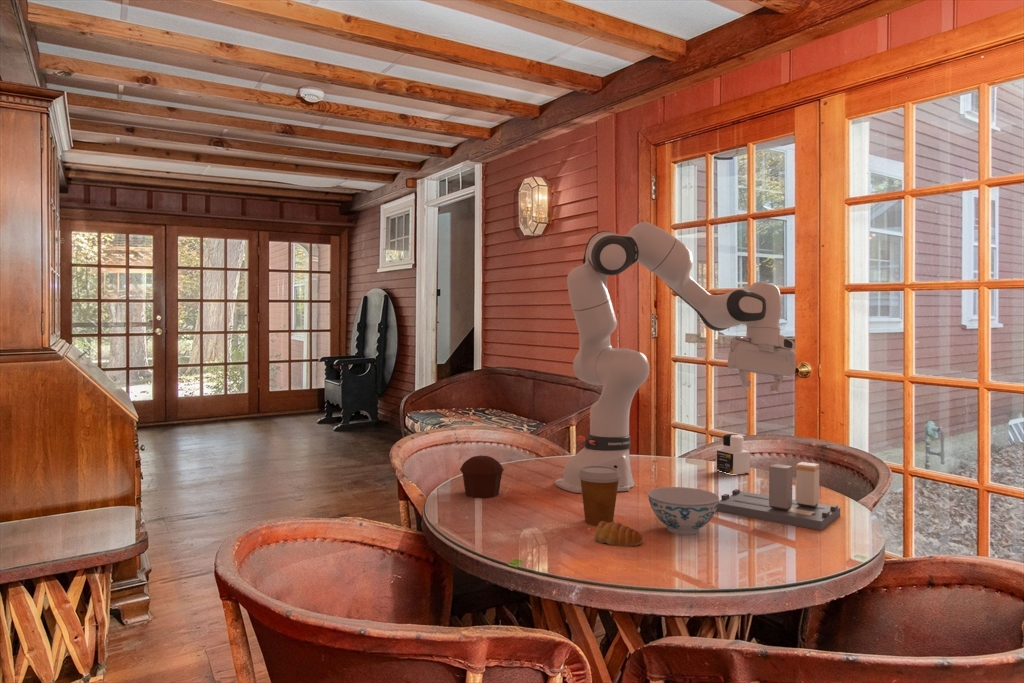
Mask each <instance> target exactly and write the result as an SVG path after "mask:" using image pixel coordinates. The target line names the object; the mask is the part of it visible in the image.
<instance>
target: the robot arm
mask: <svg viewBox="0 0 1024 683" xmlns="http://www.w3.org/2000/svg"><path fill="white" fill-rule="evenodd" d="M693 260H694V259H693V253H692V251H691V250H690V248H688V247H687V245H685V244H684V243H683V242H682V241H681V240H679V239H678V238H676V237H675V236H674V235H672V234H670V233H669V232H667V231H666V230H665V229H663V228H661V227H660V226H659V227H658V226H657V225H654V224H653V223H651V222H648V221H641V222H639V223H637V224H635V225H633V226H632V227H631V228H630V230H628V233H626V234H623V235H622V234H618V233H615V232H613V231H610V230H601V231H598V232H596V233H594V234H593V235H592V236H591V237H590V238H589V239H588V242H587V244H586V246H585V249H584V254H583V259H582V264H580V265H578V266H576V267H573V269H571V270H570V272H568V275H567V278H566V283H567V284H566V285H567V291H568V298H569V301H570V306H571V309H572V310H571V311H572V313H573V316H574V321H575V323H576V327H577V332H578V336H579V348H578V351H577V353H576V354H575V357H574V359H573V361H572V371H573V374H574V376H575V377H576V378H577V379H578V380H579V381H581V382H583V383H585V384H589V385H592V386H602V390H601V394H600V397H599V398H598V399H597V400H596V401H595V402H594V403H592V405H591V407H590V409H589V434H587V435H588V436H587V437H586V436H583V435H578V436H577V442H579V443H582V444H584V445H583V448H582V449H580V450H579V451H578V452H577V453H576V454H575V455H573V457H571V458H570V459H569V460H567V462H566V463H565V464H564V468H563V474H562V476H563V477H562V478H557V479H555V485H556V486H557V487H558V488H560V489H562V490H565V491H567V492H572V493H577V494H582V488H581V479H580V476H579V475H578V474H579V473H580V469H581V468H582V467H585V466H609V467H614V468H617V469H618V470H619V474H620V475H621V477H620V479H619V481H618V488H617V492H628V491H630V489H631V488H633V487H634V486H635V482H634V478H633V474H632V468H631V460H630V458H631V457H630V452H631V435H630V413H631V411H630V410H631V406H632V402H633V399H634V398H635V394H636V392H637V391H638V390H639V388H640V387H641V386H642V385H643V384H644V383H646V381H647V379H648V378H649V376H650V367H651V366H650V363H649V359H648V358H647V356H646V355H645V354H644V353H642V352H640V351H637V350H634V349H631V348H624V347H623V348H622V347H621V348H619V347H618V348H616V347H612V343H611V335H612V334H613V333H614V332H615V331H616V329H617V326H618V320H617V317H616V312H615V309H614V306H613V301H612V299H611V296H610V292H609V289H608V277H609V276H616V275H620V274H622V273H623V272H625V271H626V270H627V269H628V268H630V267H631V266H632V265H633V264H635V263H638V264H640V265H642V266H643V267H644V268H646V269H647V270H648V271H650V272H652V273H653V274H654V275H655V276H657V277H658V278H659V279H660V280H662V282H664V283H665V285H666V286H667V287H668V288H669V289H670V290H671V291H672V292H673V293H674V294H675V295H676V296H678V297H679V298H680V299H681V300H682V301H683V302H685V303H686V304H687V305H688V306H689V307H691V308H692V309H693V310H694V311H695V312H696V314H697V315H698V316H699V317H700V319H701V321H702V322H703V323H704V325H705V326H706V327H707V328H708V329H710V330H711V331H716V332H721V331H724V330H727V329H729V328H731V327H737V326H739V325H745V326H746V330H745V331H746V334H745V337H742V336H735V337H732V338H731V340H730V344H729V352H728V357H727V367H728V368H729V370H734V371H738V376H739V378H740V380H741V387H742V388H745V389H750V388H751V381H749V378H748V376H747V375H748V374H749V373H754V374H758V375H759V374H760V375H767V376H772V377H773V380H774V382H773V383H772V384H771V385H769V388H770V389H769V390H770V392H771V393H772V392H773V393H778V392H779V391H780V385H781V384H782V382H783V381H784V378H792V377H793V376H794V375H795V373H796V364H797V363H796V354H795V352H794V350H796V344H795V342H794V341H793V340H790V339H789V338H787V337H785V336H784V335H783V334H781V327H780V326H781V325H780V319H781V316H782V297H781V291H780V289H779V287H778V286H777V285H775V284H773V283H770V282H766V281H756V282H753V283H752V284H750V285H749V286H747V287H744V288H740V289H735V290H731V291H729V292H725V293H724V294H720V295H717V294H712V293H710V292H708V291H707V290H706V289H705V288H704V287H702V286H701V285H700V284H699V283H698V282H696V281H695V279H693V277H692V276H691V273H690V272H691V269H692V268H693Z"/></svg>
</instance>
